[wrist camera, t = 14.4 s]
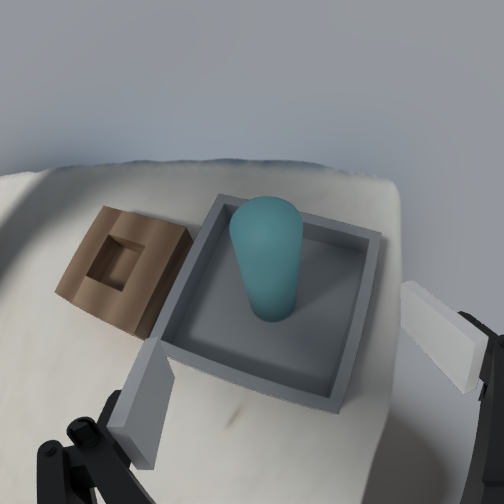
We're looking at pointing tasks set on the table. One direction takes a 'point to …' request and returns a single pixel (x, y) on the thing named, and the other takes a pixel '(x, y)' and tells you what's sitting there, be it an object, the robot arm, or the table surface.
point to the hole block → (126, 269)
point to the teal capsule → (268, 254)
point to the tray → (278, 333)
